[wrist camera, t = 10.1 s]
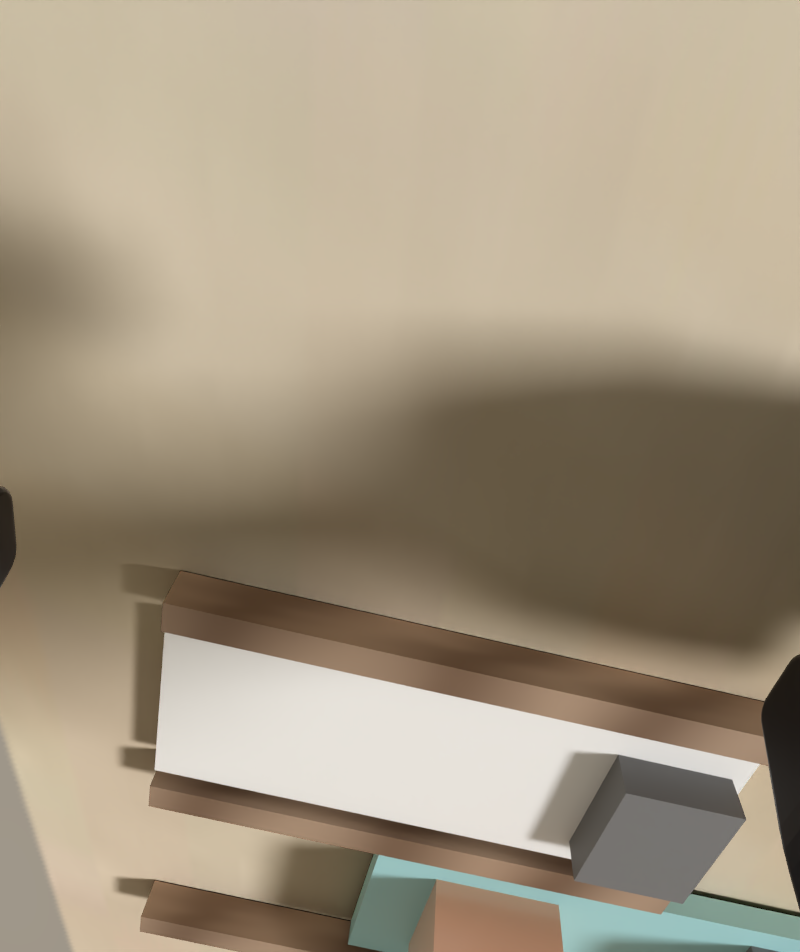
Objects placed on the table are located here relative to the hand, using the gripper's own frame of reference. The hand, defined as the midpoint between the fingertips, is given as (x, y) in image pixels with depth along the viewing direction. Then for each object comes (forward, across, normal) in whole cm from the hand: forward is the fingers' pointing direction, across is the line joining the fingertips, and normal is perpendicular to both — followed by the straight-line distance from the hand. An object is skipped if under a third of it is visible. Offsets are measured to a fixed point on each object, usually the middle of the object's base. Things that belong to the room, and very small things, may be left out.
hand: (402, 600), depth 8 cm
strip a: (+12, -4, +16) cm, 20 cm away
